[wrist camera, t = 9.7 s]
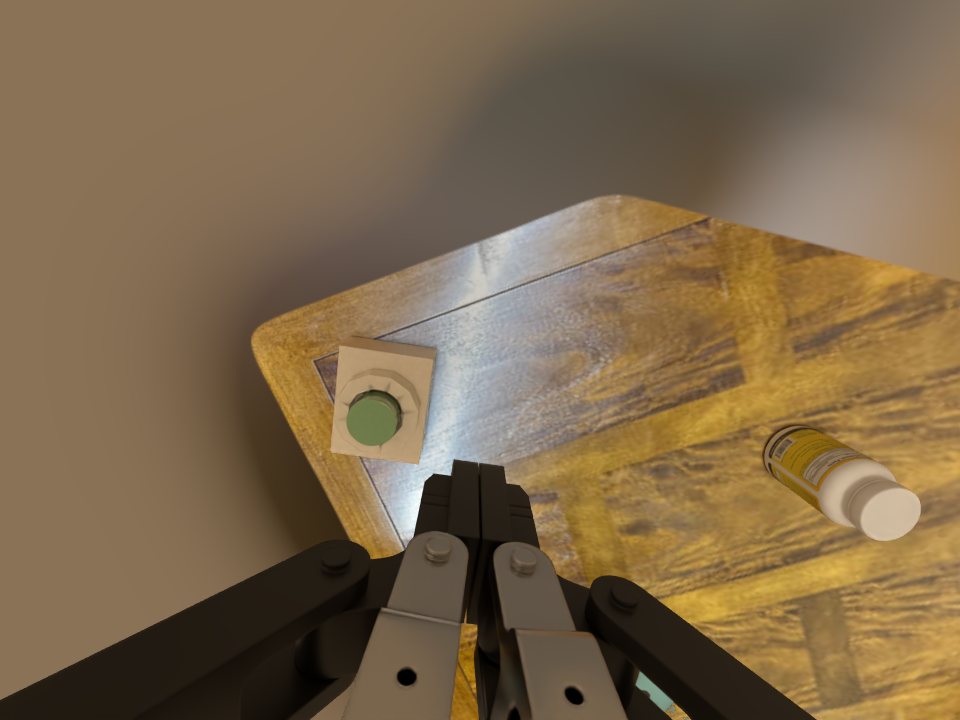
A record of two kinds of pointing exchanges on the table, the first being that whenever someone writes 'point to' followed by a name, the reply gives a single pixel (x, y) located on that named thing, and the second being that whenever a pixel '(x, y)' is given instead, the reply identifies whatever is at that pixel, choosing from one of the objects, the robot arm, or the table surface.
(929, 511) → the table surface
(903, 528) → the pill bottle
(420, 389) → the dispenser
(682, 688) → the robot arm
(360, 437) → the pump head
